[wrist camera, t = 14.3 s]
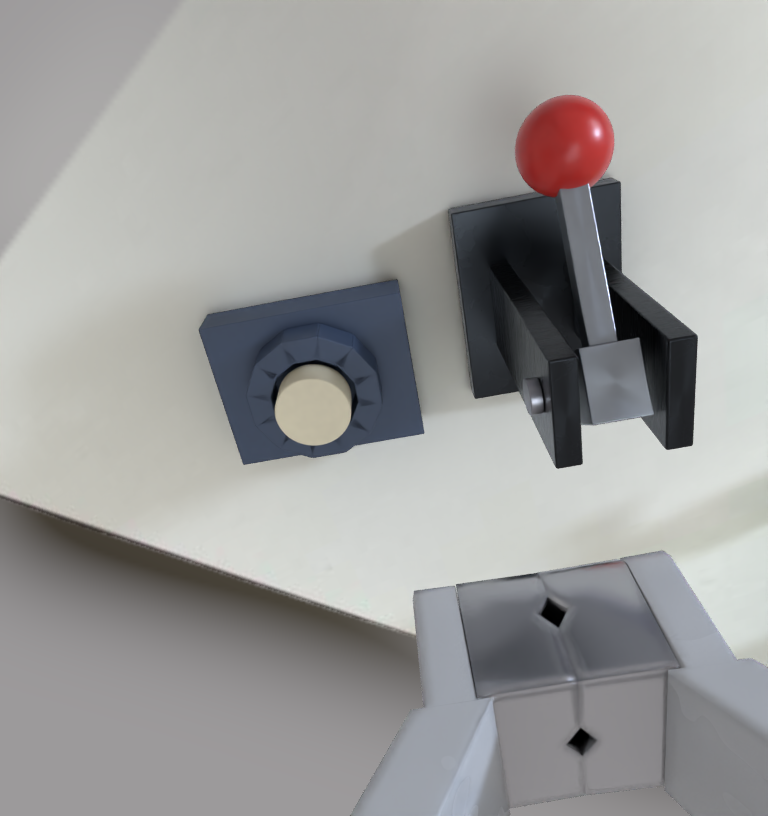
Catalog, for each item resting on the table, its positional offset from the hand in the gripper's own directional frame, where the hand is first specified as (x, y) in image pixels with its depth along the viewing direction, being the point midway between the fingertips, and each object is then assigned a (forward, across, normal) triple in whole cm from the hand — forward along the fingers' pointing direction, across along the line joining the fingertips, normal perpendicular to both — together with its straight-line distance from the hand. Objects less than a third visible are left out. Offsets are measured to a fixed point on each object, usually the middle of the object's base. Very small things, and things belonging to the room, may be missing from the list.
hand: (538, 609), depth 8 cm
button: (+24, +6, +8) cm, 26 cm away
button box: (+27, +6, +8) cm, 29 cm away
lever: (+20, -6, +3) cm, 21 cm away
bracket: (+27, -6, +6) cm, 28 cm away
